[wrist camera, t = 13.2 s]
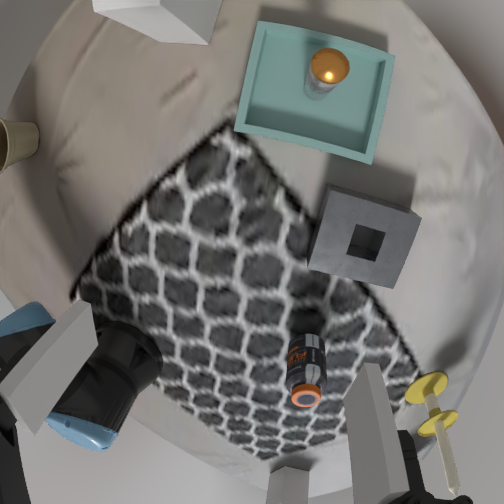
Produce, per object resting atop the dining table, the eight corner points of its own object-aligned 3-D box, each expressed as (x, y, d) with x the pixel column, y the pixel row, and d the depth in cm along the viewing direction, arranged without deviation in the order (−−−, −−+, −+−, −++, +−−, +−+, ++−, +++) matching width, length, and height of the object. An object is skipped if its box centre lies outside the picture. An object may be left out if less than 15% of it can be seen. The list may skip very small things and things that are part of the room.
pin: (301, 97, 30) (307, 76, 18) (306, 76, 29) (314, 43, 16) (324, 103, 30) (345, 87, 18) (329, 82, 29) (352, 54, 16)
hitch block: (306, 254, 39) (307, 268, 36) (326, 183, 35) (330, 190, 31) (385, 274, 39) (393, 288, 35) (410, 209, 34) (421, 218, 31)
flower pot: (11, 149, 38) (-22, 158, 31) (26, 105, 35) (-9, 109, 27) (36, 173, 40) (1, 185, 32) (52, 126, 36) (14, 133, 28)
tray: (238, 130, 34) (233, 130, 31) (261, 28, 28) (258, 20, 25) (365, 162, 33) (371, 165, 30) (387, 60, 27) (395, 55, 24)
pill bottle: (302, 326, 44) (301, 380, 34) (332, 342, 45) (337, 395, 34) (281, 349, 47) (275, 402, 36) (310, 363, 47) (310, 416, 37)
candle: (396, 391, 48) (419, 510, 24) (438, 364, 44) (479, 482, 20) (415, 408, 50) (437, 512, 26) (453, 384, 46) (487, 487, 22)
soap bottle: (310, 471, 66) (306, 525, 49) (293, 479, 70) (288, 529, 53) (285, 465, 65) (279, 522, 48) (269, 473, 69) (261, 526, 52)
